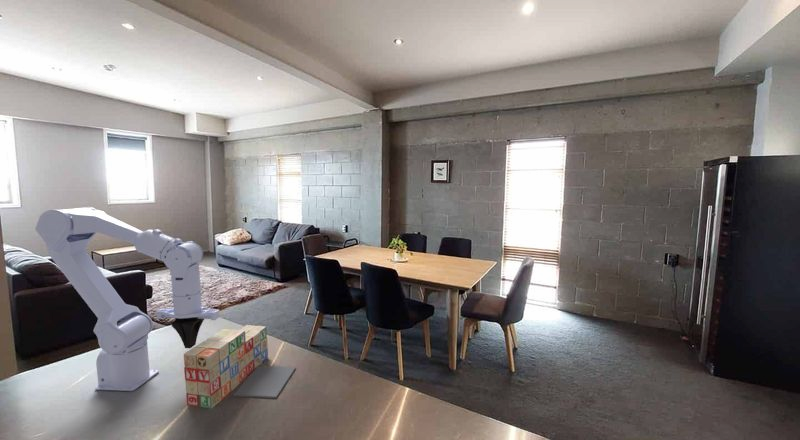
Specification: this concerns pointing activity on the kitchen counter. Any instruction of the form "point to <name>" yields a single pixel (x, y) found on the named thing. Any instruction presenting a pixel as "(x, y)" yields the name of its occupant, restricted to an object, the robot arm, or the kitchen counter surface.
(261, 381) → the mat
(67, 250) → the robot arm
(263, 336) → the stack of blocks
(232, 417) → the kitchen counter surface
